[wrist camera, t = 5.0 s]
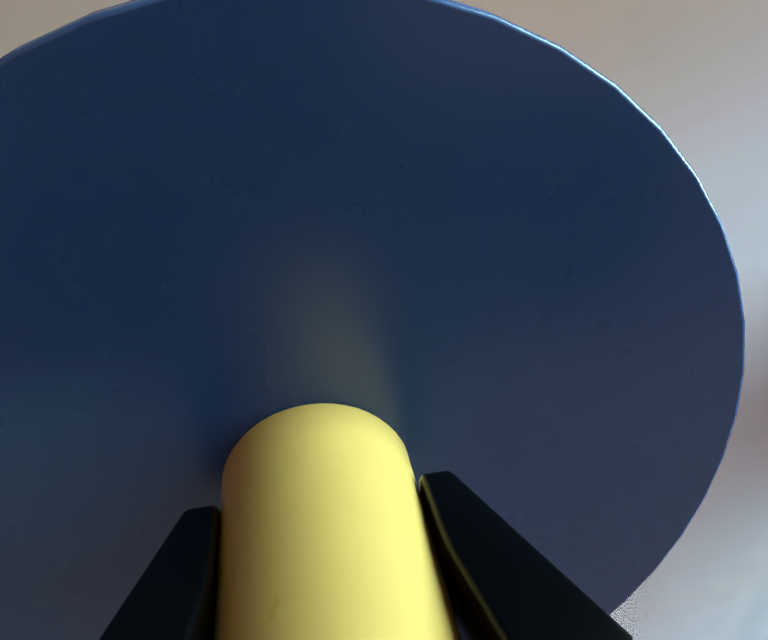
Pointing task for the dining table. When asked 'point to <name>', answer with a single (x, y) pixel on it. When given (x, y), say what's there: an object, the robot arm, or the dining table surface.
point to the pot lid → (342, 312)
